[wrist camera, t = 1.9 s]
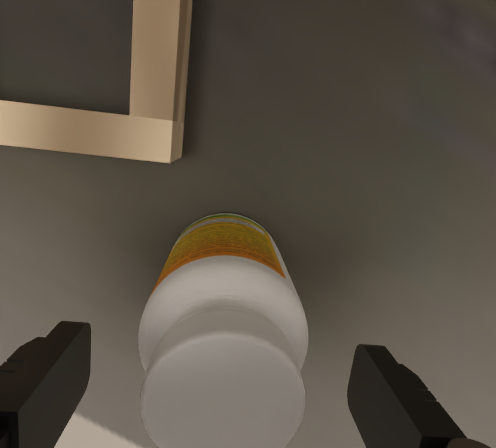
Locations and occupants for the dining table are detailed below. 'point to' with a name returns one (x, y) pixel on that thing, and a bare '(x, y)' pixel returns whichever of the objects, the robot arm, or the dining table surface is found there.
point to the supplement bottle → (223, 341)
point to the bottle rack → (141, 98)
